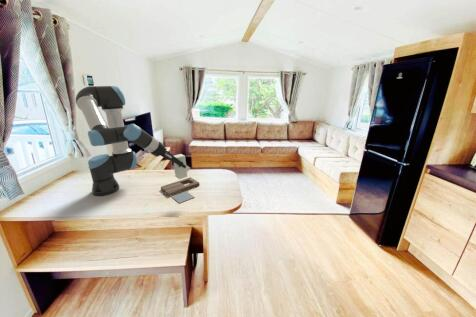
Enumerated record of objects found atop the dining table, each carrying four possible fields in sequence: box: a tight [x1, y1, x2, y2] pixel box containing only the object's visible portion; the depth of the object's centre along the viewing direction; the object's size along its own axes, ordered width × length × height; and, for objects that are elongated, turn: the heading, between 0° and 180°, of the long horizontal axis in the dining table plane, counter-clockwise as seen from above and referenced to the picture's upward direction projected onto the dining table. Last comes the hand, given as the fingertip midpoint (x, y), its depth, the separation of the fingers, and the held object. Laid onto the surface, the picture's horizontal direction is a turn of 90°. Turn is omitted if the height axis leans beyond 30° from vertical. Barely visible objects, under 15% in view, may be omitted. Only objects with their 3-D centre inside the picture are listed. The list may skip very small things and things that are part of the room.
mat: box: [171, 190, 195, 204], centre depth 126 cm, size 10×10×1 cm
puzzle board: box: [160, 176, 200, 197], centre depth 138 cm, size 12×22×2 cm, turn 132°
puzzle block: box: [173, 153, 188, 180], centre depth 119 cm, size 5×5×13 cm
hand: (186, 168), depth 122 cm, fingers closed on puzzle block, 5 cm apart
